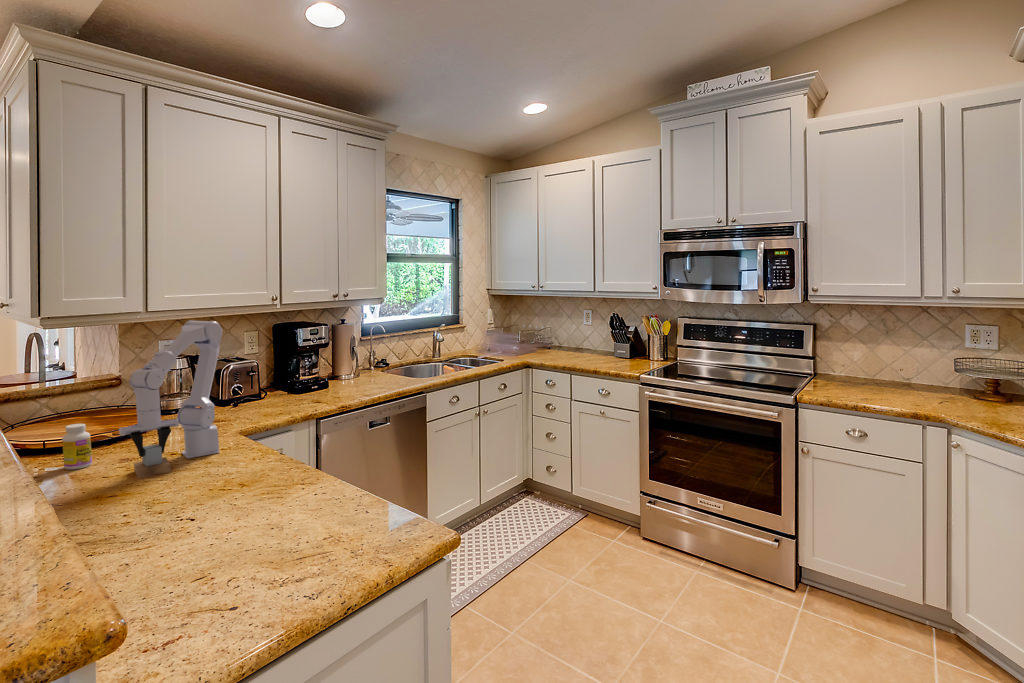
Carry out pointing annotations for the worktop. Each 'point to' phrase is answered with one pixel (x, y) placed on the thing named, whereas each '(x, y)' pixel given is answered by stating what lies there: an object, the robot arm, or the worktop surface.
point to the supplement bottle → (76, 447)
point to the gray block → (152, 455)
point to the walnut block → (152, 469)
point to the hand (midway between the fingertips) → (151, 454)
